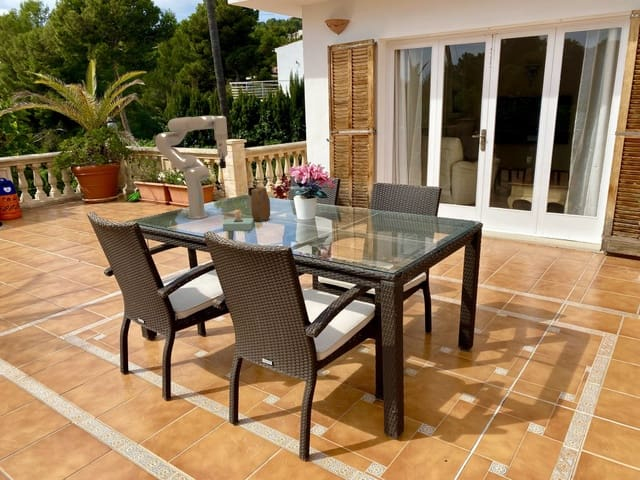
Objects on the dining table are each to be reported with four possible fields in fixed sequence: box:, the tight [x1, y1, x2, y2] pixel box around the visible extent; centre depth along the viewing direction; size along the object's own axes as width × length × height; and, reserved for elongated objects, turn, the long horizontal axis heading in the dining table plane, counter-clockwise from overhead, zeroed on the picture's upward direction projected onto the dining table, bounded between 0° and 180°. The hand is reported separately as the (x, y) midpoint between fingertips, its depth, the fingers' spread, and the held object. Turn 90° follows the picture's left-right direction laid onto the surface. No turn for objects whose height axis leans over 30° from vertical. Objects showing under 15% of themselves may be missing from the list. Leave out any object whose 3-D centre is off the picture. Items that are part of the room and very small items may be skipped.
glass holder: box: [247, 186, 269, 212], centre depth 331 cm, size 9×14×15 cm, turn 70°
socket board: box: [222, 217, 255, 232], centre depth 286 cm, size 16×14×4 cm
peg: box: [234, 209, 242, 222], centre depth 285 cm, size 4×4×10 cm
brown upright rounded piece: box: [251, 186, 271, 223], centre depth 302 cm, size 11×8×20 cm
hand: (223, 168), depth 299 cm, fingers closed
